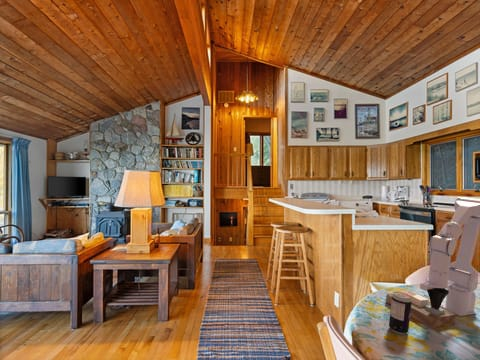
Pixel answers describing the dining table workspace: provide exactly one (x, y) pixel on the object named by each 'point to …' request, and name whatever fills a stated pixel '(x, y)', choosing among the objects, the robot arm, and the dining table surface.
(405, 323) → the beverage can
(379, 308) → the dining table surface
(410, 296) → the red key
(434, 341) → the dining table surface
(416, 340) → the dining table surface
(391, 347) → the dining table surface
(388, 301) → the brown slotted tray
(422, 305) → the ivory key
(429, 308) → the grey block
